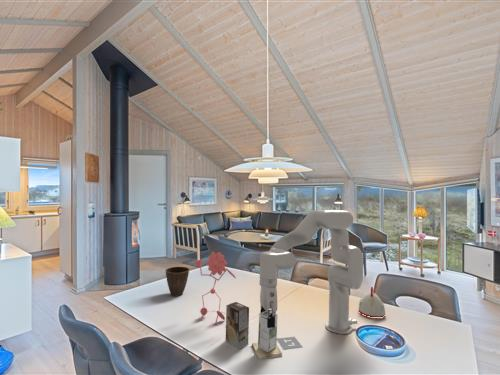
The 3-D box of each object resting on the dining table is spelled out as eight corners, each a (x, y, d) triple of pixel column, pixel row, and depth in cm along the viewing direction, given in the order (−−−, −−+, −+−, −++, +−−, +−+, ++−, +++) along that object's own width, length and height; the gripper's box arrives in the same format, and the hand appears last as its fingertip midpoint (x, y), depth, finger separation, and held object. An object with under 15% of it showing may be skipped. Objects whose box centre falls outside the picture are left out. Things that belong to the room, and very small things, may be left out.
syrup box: (265, 342, 121) (266, 309, 122) (276, 347, 118) (277, 313, 118) (257, 347, 117) (258, 313, 118) (268, 353, 113) (269, 317, 114)
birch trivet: (273, 343, 124) (273, 340, 124) (281, 356, 114) (282, 352, 114) (252, 345, 121) (252, 342, 121) (258, 359, 111) (258, 355, 111)
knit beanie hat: (357, 315, 155) (357, 288, 156) (359, 307, 168) (359, 282, 168) (385, 321, 149) (385, 293, 150) (385, 312, 162) (385, 286, 162)
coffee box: (249, 344, 122) (250, 307, 123) (238, 349, 118) (239, 311, 118) (235, 336, 129) (236, 301, 129) (224, 341, 124) (225, 304, 125)
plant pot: (183, 299, 172) (183, 273, 173) (160, 297, 174) (161, 271, 175) (191, 291, 187) (192, 267, 187) (170, 289, 189) (171, 266, 190)
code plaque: (294, 336, 130) (294, 336, 130) (302, 347, 121) (302, 346, 121) (276, 338, 128) (276, 338, 128) (283, 349, 119) (283, 349, 119)
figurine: (229, 329, 135) (231, 256, 137) (186, 318, 147) (189, 251, 148) (243, 317, 149) (245, 252, 151) (203, 308, 160) (206, 247, 162)
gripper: (284, 287, 111) (283, 331, 110) (270, 275, 128) (269, 313, 127) (266, 288, 109) (265, 333, 108) (254, 275, 126) (253, 314, 125)
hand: (267, 322), depth 118 cm, fingers open, 9 cm apart
